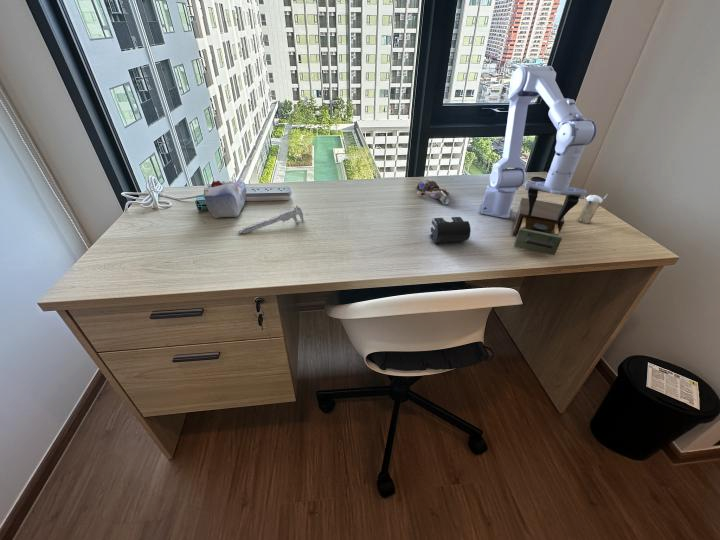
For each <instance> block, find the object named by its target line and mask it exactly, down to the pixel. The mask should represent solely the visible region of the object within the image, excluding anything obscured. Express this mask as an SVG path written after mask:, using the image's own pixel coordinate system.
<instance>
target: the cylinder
mask: <svg viewBox="0 0 720 540" xmlns="http://www.w3.org/2000/svg"><path fill="white" fill-rule="evenodd" d="M547 229H548V227H547V226H546V225H544V224H541V223H535V224H534V225H533V227H532V230H534V231H539V232H544V233H546V231H547Z"/></svg>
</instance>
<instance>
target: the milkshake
mask: <svg viewBox="0 0 720 540" xmlns="http://www.w3.org/2000/svg"><path fill="white" fill-rule="evenodd" d="M607 196H608V193H607V194H605V195H604V196H603V197H601V196H599V195H597V194H589V195H587V196H585V201H584V204H583V207H582V210H581V213H580V215H579V218H578V221H579V222H580V223H583V224H590V223H591V221H592V219H593V218H594V216H595V215H596V213H597V211H598V209H599V208H600V206H601V204H602V203H603V201H604V199H605V198H606V197H607Z"/></svg>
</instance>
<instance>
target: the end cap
mask: <svg viewBox="0 0 720 540" xmlns="http://www.w3.org/2000/svg"><path fill="white" fill-rule="evenodd" d="M431 225H432V226H431V227H430V232H431V234H430V236H429V237H430V239H431V240H432V242H433V243H434V244H442V243H443V244H444V243H459V242H460V243H461V242H465V241H468V240H469V239H470V237H471V231H472V230H471V224H470V222H469V221H468V220H464V219H463V218H462V217H461V216H451V221H446V220H445V219H444V217H433V218H432V220H431Z"/></svg>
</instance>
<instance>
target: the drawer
mask: <svg viewBox="0 0 720 540" xmlns="http://www.w3.org/2000/svg"><path fill="white" fill-rule="evenodd" d="M535 223H541V224H544V225H546V226H547V227H548V229H547V231H546V233H544V232H539V231H534V230H532V227H533V225H534V224H535ZM562 240H563V235H560V233H559V230H558V223H555V222H549V221H544V220H539V219H533V218H528V217H523V218H522V221H521V223H520V226H519V230H518V235H517V236H516V238H515V241H514V244H513V247H514V248H517V249H523V250H528V251H530V252H531V251H532V252H537V253H539V254H540V253H541V254H545V255H550V256H554V257H555V255H556V254H557V252H558V249H559V247H560V244H561V242H562Z"/></svg>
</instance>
